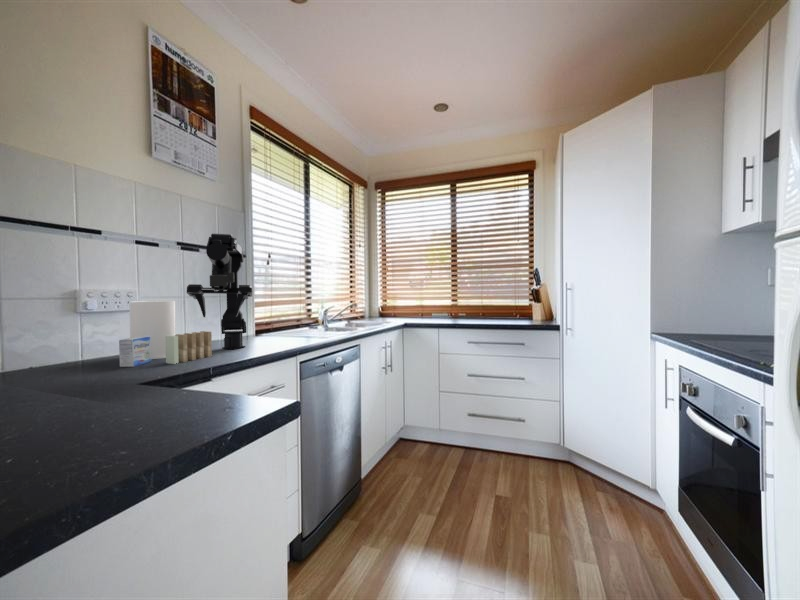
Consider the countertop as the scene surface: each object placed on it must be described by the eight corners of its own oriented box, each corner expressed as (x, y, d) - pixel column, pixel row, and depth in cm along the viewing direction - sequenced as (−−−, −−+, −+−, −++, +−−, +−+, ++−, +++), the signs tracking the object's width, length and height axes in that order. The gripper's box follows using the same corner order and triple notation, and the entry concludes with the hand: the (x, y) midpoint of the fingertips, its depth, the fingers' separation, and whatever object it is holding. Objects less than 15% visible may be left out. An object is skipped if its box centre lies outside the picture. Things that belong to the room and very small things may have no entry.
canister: (176, 357, 128) (175, 301, 127) (129, 361, 120) (128, 302, 119) (175, 351, 139) (174, 300, 138) (131, 355, 131) (130, 301, 131)
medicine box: (133, 367, 111) (132, 339, 111) (119, 367, 111) (118, 339, 111) (151, 362, 119) (150, 336, 119) (138, 362, 119) (137, 336, 119)
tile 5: (170, 362, 118) (169, 335, 118) (178, 363, 117) (178, 335, 117) (165, 363, 117) (165, 335, 117) (174, 364, 116) (174, 336, 115)
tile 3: (187, 358, 124) (187, 333, 124) (196, 359, 123) (195, 333, 123) (183, 359, 123) (183, 333, 123) (192, 360, 122) (191, 334, 121)
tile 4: (179, 360, 121) (178, 334, 121) (187, 361, 120) (187, 334, 120) (175, 361, 120) (174, 334, 120) (183, 362, 119) (183, 335, 118)
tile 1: (203, 355, 130) (203, 331, 130) (211, 356, 129) (211, 331, 129) (200, 356, 129) (199, 331, 129) (208, 357, 128) (208, 332, 127)
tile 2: (195, 357, 127) (195, 332, 127) (204, 357, 126) (203, 332, 126) (192, 357, 126) (191, 332, 126) (200, 358, 125) (200, 333, 124)
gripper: (183, 261, 107) (181, 312, 104) (251, 263, 113) (250, 311, 110) (191, 272, 117) (189, 319, 114) (252, 273, 124) (252, 317, 121)
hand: (220, 316), depth 114 cm, fingers open, 9 cm apart
